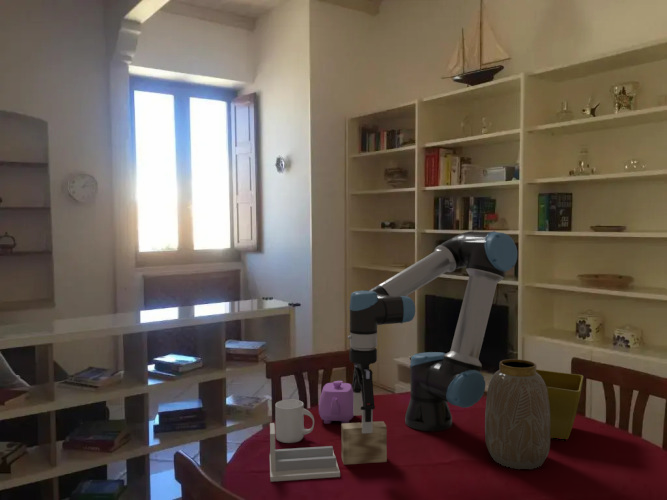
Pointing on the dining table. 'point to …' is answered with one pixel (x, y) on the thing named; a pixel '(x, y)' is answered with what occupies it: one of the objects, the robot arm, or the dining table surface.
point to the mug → (291, 421)
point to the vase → (518, 416)
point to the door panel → (363, 443)
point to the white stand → (301, 462)
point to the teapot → (336, 402)
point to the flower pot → (562, 400)
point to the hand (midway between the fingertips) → (362, 423)
